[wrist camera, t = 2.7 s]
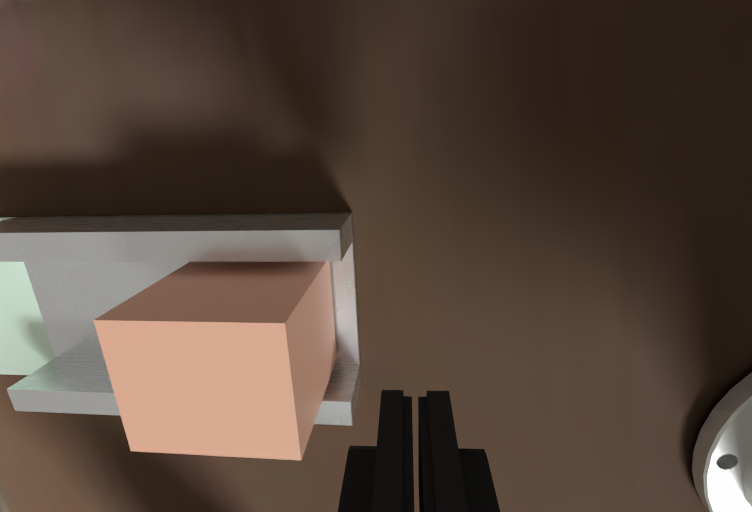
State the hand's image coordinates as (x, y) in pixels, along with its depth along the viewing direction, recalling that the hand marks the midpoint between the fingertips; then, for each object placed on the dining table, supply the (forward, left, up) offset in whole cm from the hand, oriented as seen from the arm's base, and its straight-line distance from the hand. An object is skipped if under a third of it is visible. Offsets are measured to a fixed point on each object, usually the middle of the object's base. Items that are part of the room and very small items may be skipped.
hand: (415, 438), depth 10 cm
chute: (+11, 0, -9) cm, 14 cm away
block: (+7, 0, -8) cm, 10 cm away
